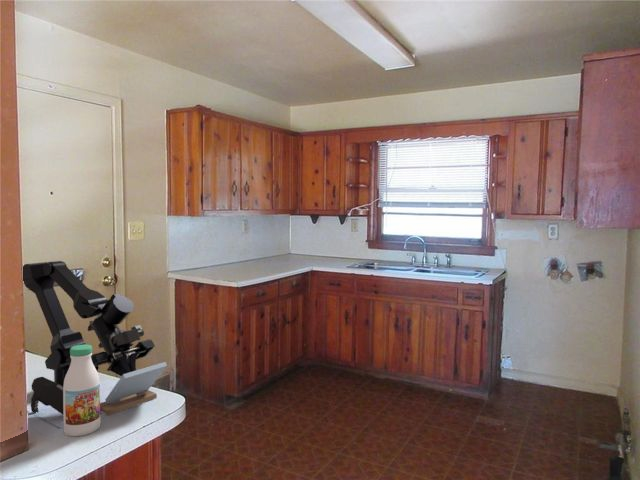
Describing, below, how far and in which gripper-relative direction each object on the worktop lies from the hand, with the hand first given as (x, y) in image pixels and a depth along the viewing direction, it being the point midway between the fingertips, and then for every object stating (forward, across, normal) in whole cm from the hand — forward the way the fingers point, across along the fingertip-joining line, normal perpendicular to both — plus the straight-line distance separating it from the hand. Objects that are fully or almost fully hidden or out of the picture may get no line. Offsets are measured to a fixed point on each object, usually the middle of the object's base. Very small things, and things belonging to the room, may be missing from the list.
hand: (135, 382), depth 120 cm
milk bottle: (+5, -15, +5) cm, 16 cm away
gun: (-3, -13, +14) cm, 19 cm away
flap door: (+1, 0, +5) cm, 5 cm away
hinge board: (+2, 0, +7) cm, 7 cm away
